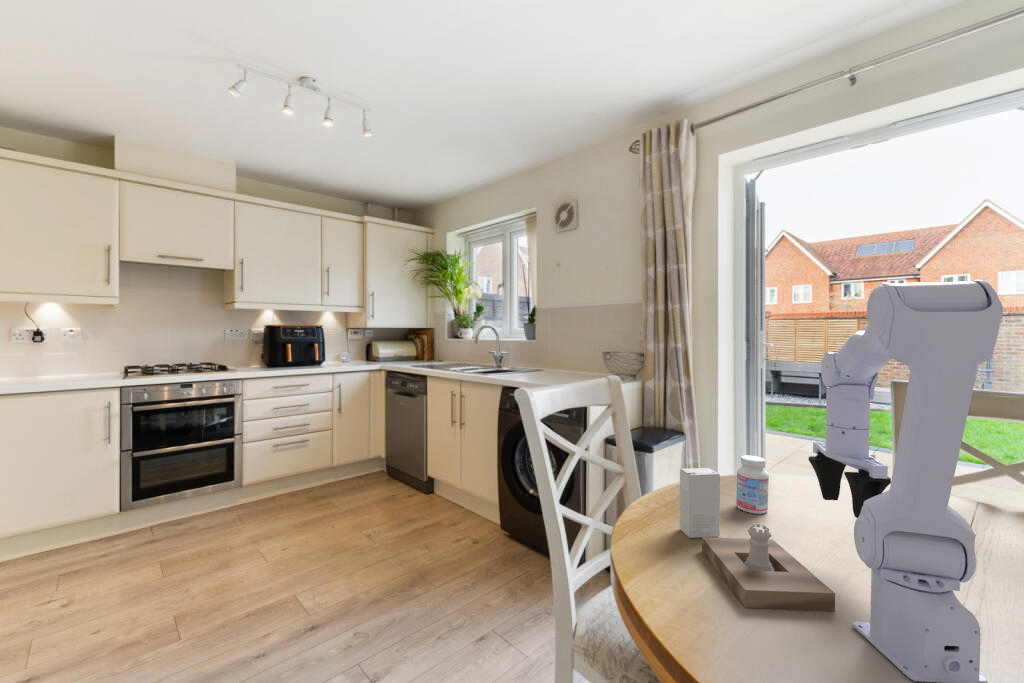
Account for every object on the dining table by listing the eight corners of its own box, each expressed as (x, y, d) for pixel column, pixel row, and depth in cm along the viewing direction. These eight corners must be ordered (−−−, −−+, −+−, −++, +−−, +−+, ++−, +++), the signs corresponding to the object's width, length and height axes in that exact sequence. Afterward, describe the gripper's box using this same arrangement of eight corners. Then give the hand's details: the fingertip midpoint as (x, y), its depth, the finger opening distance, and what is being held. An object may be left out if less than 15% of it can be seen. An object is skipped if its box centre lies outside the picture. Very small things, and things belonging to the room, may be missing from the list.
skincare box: (707, 527, 87) (708, 466, 86) (720, 538, 82) (721, 473, 82) (677, 529, 86) (678, 467, 86) (689, 539, 82) (690, 474, 81)
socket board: (834, 611, 61) (835, 593, 60) (744, 607, 61) (745, 589, 61) (772, 553, 76) (772, 539, 76) (701, 551, 77) (702, 537, 77)
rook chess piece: (774, 589, 66) (775, 536, 66) (740, 579, 68) (741, 528, 68) (776, 575, 70) (776, 525, 69) (744, 567, 72) (745, 518, 72)
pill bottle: (730, 506, 98) (730, 455, 97) (748, 502, 100) (749, 453, 100) (755, 516, 92) (756, 463, 92) (774, 512, 95) (775, 460, 94)
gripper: (910, 436, 65) (908, 528, 65) (842, 418, 80) (840, 493, 80) (860, 435, 66) (858, 526, 66) (801, 417, 80) (800, 492, 80)
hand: (845, 508), depth 73 cm, fingers open, 7 cm apart
